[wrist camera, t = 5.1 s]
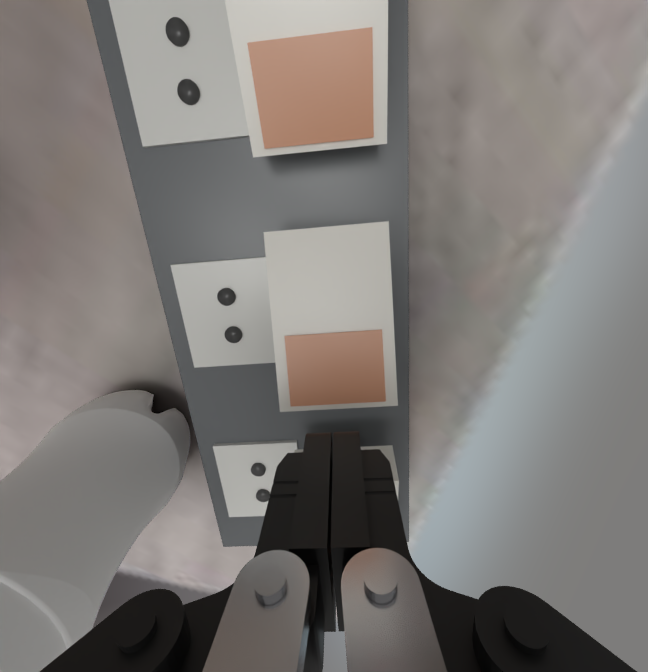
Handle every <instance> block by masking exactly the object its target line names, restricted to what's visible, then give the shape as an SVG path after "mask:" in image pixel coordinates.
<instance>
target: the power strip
mask: <svg viewBox="0 0 648 672" xmlns="http://www.w3.org/2000/svg"><path fill="white" fill-rule="evenodd" d="M87 3H88V7H89V11H90V15H91V19H92V23H93V27H94V31H95V35H96V39H97V43H98V47H99V51H100V55H101V59H102V63H103V67H104V71H105V75H106V79H107V83H108V87H109V91H110V95H111V99H112V103H113V107H114V111H115V115H116V119H117V123H118V127H119V131H120V135H121V139H122V143H123V147H124V151H125V155H126V159H127V163H128V167H129V171H130V175H131V179H132V183H133V187H134V191H135V195H136V199H137V203H138V207H139V211H140V215H141V219H142V223H143V227H144V231H145V235H146V239H147V243H148V247H149V251H150V255H151V259H152V263H153V267H154V271H155V275H156V279H157V283H158V287H159V291H160V295H161V299H162V303H163V307H164V311H165V315H166V319H167V323H168V327H169V331H170V335H171V339H172V343H173V347H174V351H175V355H176V359H177V363H178V367H179V371H180V375H181V379H182V383H183V387H184V391H185V395H186V399H187V403H188V407H189V411H190V415H191V419H192V423H193V427H194V431H195V435H196V439H197V443H198V447H199V451H200V455H201V459H202V463H203V467H204V471H205V475H206V479H207V483H208V487H209V491H210V495H211V499H212V503H213V507H214V511H215V515H216V519H217V523H218V527H219V531H220V535H221V539H222V543H223V547H229V546H257V545H258V541H259V537H260V533H261V529H262V525H263V521H264V517H265V513H266V509H267V505H268V501H269V498H270V492H271V488H272V485H273V480H274V476H275V472H276V468H277V466H278V464H279V463H280V462H281V461H282V459H283V458H284V457H285V456H286V454H287V453H294V451H295V450H299V449H303V448H304V442H305V436H306V434H307V433H331V432H332V439H333V433H334V432H351V431H359V436H360V447H365V446H387V445H392V446H393V451H394V457H395V462H396V467H397V473H398V478H399V491H398V503H399V508H400V512H401V517H402V522H403V527H404V532H405V536H406V541H407V542H409V291H408V0H388V92H387V144H380V145H370V146H360V147H350V148H341V149H331V150H321V151H311V152H302V153H292V154H282V155H272V156H263V157H253V154H252V149H251V143H250V137H249V132H248V126H247V121H246V115H245V110H244V104H243V99H242V93H241V88H240V82H239V77H238V71H237V66H236V60H235V55H234V49H233V44H232V38H231V32H230V27H229V21H228V16H227V10H226V5H225V0H87ZM385 221H389V238H390V258H391V278H392V298H393V317H394V337H395V357H396V377H397V397H398V406H384V407H365V408H346V409H327V410H308V411H289V412H280V408H279V397H278V386H277V375H276V364H275V353H274V342H273V331H272V320H271V309H270V298H269V287H268V276H267V265H266V255H265V244H264V233H263V232H271V231H282V230H294V229H305V228H317V227H328V226H339V225H351V224H362V223H374V222H385Z"/></svg>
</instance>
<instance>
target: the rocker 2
mask: <svg viewBox="0 0 648 672" xmlns="http://www.w3.org/2000/svg"><path fill="white" fill-rule="evenodd" d="M263 233H264V244H265V255H266V265H267V276H268V287H269V298H270V309H271V320H272V331H273V342H274V353H275V364H276V375H277V386H278V397H279V408H280V412H289V411H308V410H327V409H346V408H365V407H384V406H398V397H397V377H396V357H395V337H394V317H393V298H392V278H391V258H390V238H389V221H385V222H374V223H362V224H351V225H339V226H328V227H317V228H305V229H294V230H282V231H271V232H263Z"/></svg>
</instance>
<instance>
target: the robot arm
mask: <svg viewBox="0 0 648 672" xmlns="http://www.w3.org/2000/svg"><path fill="white" fill-rule="evenodd" d="M336 607H337V617H338V627H339V631H345V643H346V656H347V669H348V672H637V671H635V670H634V669H633V668H631V667H630V666H629V665H627V664H626V663H625V662H623V661H622V660H621V659H619V658H618V657H617V656H615V655H614V654H613V653H612V652H610V651H609V650H608V649H606V648H605V647H604V646H602V645H601V644H600V643H598V642H597V641H596V640H594V639H593V638H592V637H591V636H589V635H588V634H587V633H585V632H584V631H583V630H582V629H580V628H579V627H578V626H576V625H575V624H574V623H572V622H571V621H570V620H568V619H567V618H566V617H565V616H563V615H562V614H561V613H559V612H558V611H557V610H555V609H554V608H552V607H551V606H550V605H549V604H548V603H546V602H545V601H543V600H542V599H540V598H539V597H537V596H536V595H534V594H532V593H530V592H527V591H525V590H523V589H520V588H515V587H510V586H498V587H494V588H491V589H489V590H487V591H486V592H484V594H482V595H481V597H480V598H479V600H478V599H474V598H472V597H469V596H465V595H462V594H459V593H456V592H453V591H450V590H447V589H445V588H442V587H441V586H439V585H437V584H435V583H434V582H432V581H431V580H429V579H428V578H427V577H425V575H424V574H422V573H421V571H420V570H419V569H418V568H417V567H416V565H415V563H414V562H413V560H412V558H411V556H410V553H409V550H408V546H407V541H406V536H405V532H404V527H403V522H402V517H401V512H400V508H399V503H398V498H397V494H396V489H395V484H394V481H393V474H392V470H391V465H390V461H389V460H388V459H387V458H386V457H385V455H384V454H383V453H382V452H381V450H380V449H371V450H361V447H360V436H359V431H351V432H334V433H333V439H332V432H331V433H307V434H306V436H305V442H304V448H303V452H298V453H287V454H286V456H285V457H284V458H283V459H282V461H281V462H280V463H279V464H278V466H277V468H276V472H275V476H274V480H273V485H272V488H271V492H270V498H269V501H268V505H267V509H266V513H265V517H264V521H263V525H262V529H261V533H260V537H259V541H258V545H257V549H256V553H255V556H254V558H253V559H252V560H250V561H249V562H248V563H247V564H246V565H245V566H244V567H243V568H242V570H241V571H240V573H239V574H238V576H237V578H236V580H235V582H234V583H233V584H232V585H231V586H229V587H228V588H226V589H224V590H222V591H220V592H218V593H216V594H213V595H210V596H207V597H205V598H202V599H199V600H197V601H193V602H191V603H188V604H185V605H183V604H182V601H181V600H180V598H179V597H178V596H177V595H176V594H175V593H174V592H172V591H170V590H166V589H155V590H150V591H146V592H144V593H141V594H139V595H137V596H135V597H133V598H132V599H130V600H129V601H127V602H126V603H124V604H123V605H122V606H120V607H119V608H118V609H117V610H116V611H114V612H113V613H112V614H111V615H109V616H108V617H107V618H106V619H104V620H103V621H102V622H101V623H99V624H98V625H97V626H96V627H94V628H93V629H92V630H91V631H89V632H88V633H87V634H86V635H84V636H83V637H82V638H81V639H79V640H78V641H77V642H76V643H74V644H73V645H72V646H71V647H69V648H68V649H67V650H66V651H64V652H63V653H62V654H61V655H59V656H58V657H57V658H56V659H54V660H53V661H52V662H51V663H50V664H48V665H47V666H46V667H45V668H43V669H42V670H41V671H40V672H322V669H323V655H324V654H323V653H324V632H327V631H328V632H330V631H331V632H333V631H334V632H335V631H336Z"/></svg>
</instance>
